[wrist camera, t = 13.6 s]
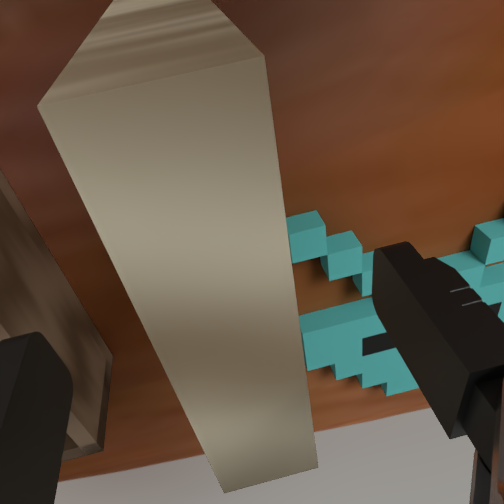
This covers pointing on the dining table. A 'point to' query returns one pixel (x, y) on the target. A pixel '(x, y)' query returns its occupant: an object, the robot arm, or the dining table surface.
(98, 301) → the dining table surface
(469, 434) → the robot arm
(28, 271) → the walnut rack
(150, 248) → the birch panel
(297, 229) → the alien figure
